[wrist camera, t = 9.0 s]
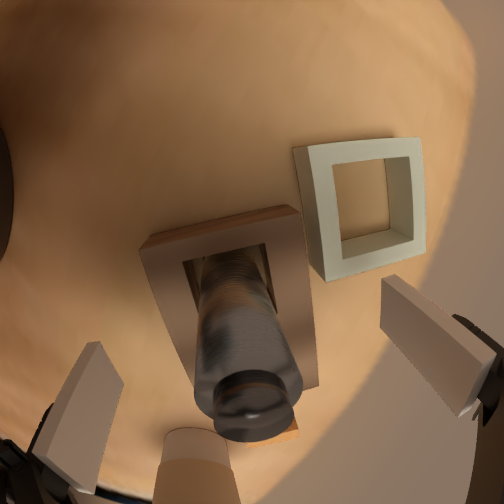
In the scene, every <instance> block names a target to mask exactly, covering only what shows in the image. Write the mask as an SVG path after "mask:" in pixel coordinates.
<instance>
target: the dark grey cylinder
mask: <svg viewBox="0 0 504 504" xmlns="http://www.w3.org/2000/svg"><path fill="white" fill-rule="evenodd" d="M302 391H303V379H302V376H301V373H300V371H299V368H298V366H297V363H296V361H295V358H294V356H293V353H292V351H291V349H290V346H289V344H288V341H287V339H286V336H285V334H284V331H283V329H282V326H281V324H280V321H279V319H278V316H277V314H276V311H275V309H274V306H273V304H272V301H271V299H270V297H269V294H268V292H267V289H266V287H265V284H264V282H263V279H262V277H261V274H260V272H259V269H258V267H257V264H256V262H255V259H254V257H253V256H252V254H251V253H250V252H249V251H248V250H247V249H245V248H239V249H235V250H231V251H226V252H222V253H217V254H213V255H209V256H206V258H205V260H204V262H203V267H202V278H201V289H200V300H199V313H198V327H197V342H196V359H195V379H194V398H195V402H196V404H197V406H198V407H199V409H200V410H201V411H202V412H203V413H204V414H206V415H207V416H209V417H210V418H212V419H214V428H215V430H216V431H217V432H218V433H219V434H220V435H221V436H222V437H224V438H226V439H229V440H232V441H236V442H246V443H249V442H259V441H264V440H268V439H271V438H273V437H275V436H277V435H279V434H281V433H283V432H284V431H285V430H286V429H288V428H289V426H290V425H291V424H292V422H293V420H294V411H293V408H292V407H293V406H294V405H295V404H296V402H297V401H298V400H299V398H300V396H301V394H302Z"/></svg>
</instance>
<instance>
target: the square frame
mask: <svg viewBox="0 0 504 504" xmlns="http://www.w3.org/2000/svg"><path fill="white" fill-rule="evenodd" d="M292 149H293V154H294V160H295V165H296V171H297V177H298V183H299V189H300V195H301V201H302V208H303V214H304V221H305V228H306V235H307V243H308V250H309V258H310V265H311V266H312V267H313V268H314V270H315V271H316V272H317V273H318V274H319V275H320V276H321V278H322V279H323V280H324V281H325V282H330V281H333V280H337V279H340V278H344V277H348V276H351V275H355V274H358V273H362V272H365V271H368V270H372V269H375V268H379V267H382V266H385V265H388V264H392V263H395V262H398V261H401V260H405V259H408V258H411V257H414V256H417V255H420V254H423V253H425V252H426V198H425V180H424V168H423V158H422V149H421V141H420V137H403V138H383V139H368V140H356V141H346V142H336V143H327V144H319V145H311V146H304V147H297V148H292ZM374 159H385V167H386V176H387V187H388V199H389V214H390V229H389V230H384V231H380V232H376V233H372V234H368V235H364V236H360V237H356V238H351V239H347V240H343V241H341V236H340V226H339V216H338V208H337V199H336V191H335V184H334V177H333V170H332V165H335V164H342V163H349V162H357V161H366V160H374Z"/></svg>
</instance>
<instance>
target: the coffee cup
mask: <svg viewBox="0 0 504 504" xmlns="http://www.w3.org/2000/svg"><path fill="white" fill-rule="evenodd" d="M152 504H241V502H240V498H239V494H238V490H237V486H236V482H235V478H234V473H233V471H232V470H231V465H230V460H229V456H228V451H227V445H226V441H225V440H224V438H223V437H221V436H220V435H219V434H217V433H215V432H212V431H209V430H205V429H199V428H181V429H176V430H173V431H171V432H169V433H168V434H167V435H166V437H165V441H164V446H163V452H162V457H161V463H160V465H159V467H158V472H157V477H156V483H155V488H154V494H153V500H152Z"/></svg>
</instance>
